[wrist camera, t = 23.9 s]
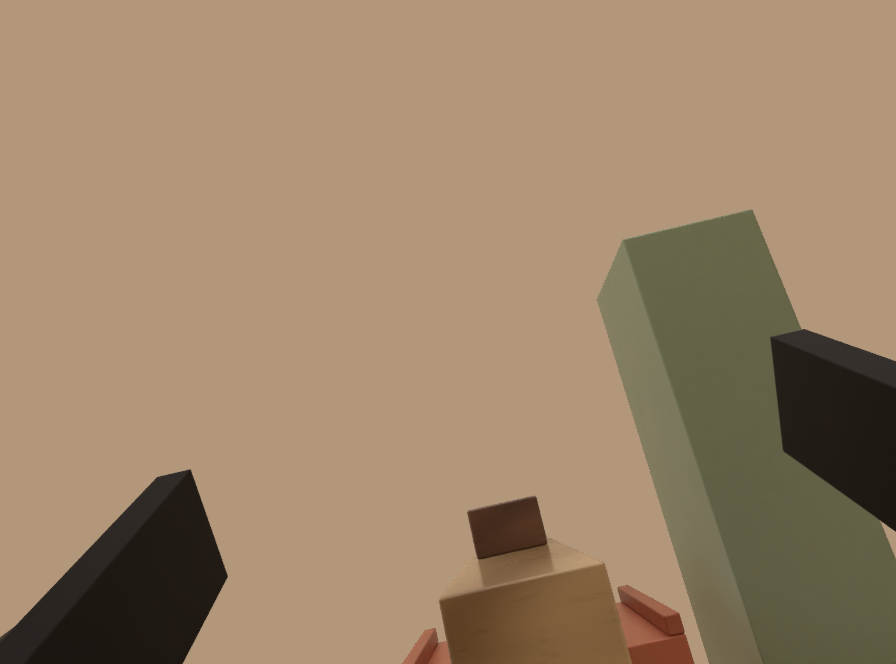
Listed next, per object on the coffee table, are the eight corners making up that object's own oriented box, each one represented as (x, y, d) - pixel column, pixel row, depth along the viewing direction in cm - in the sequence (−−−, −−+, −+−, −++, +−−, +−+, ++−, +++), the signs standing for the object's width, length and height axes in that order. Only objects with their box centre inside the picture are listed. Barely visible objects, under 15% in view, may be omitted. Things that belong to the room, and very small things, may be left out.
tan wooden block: (466, 741, 14) (421, 511, 15) (486, 615, 31) (464, 513, 32) (643, 703, 13) (580, 475, 15) (564, 598, 31) (538, 497, 32)
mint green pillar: (955, 1240, 18) (622, 239, 28) (820, 1024, 26) (596, 298, 35) (1160, 1199, 18) (752, 208, 28) (962, 994, 25) (698, 275, 35)
